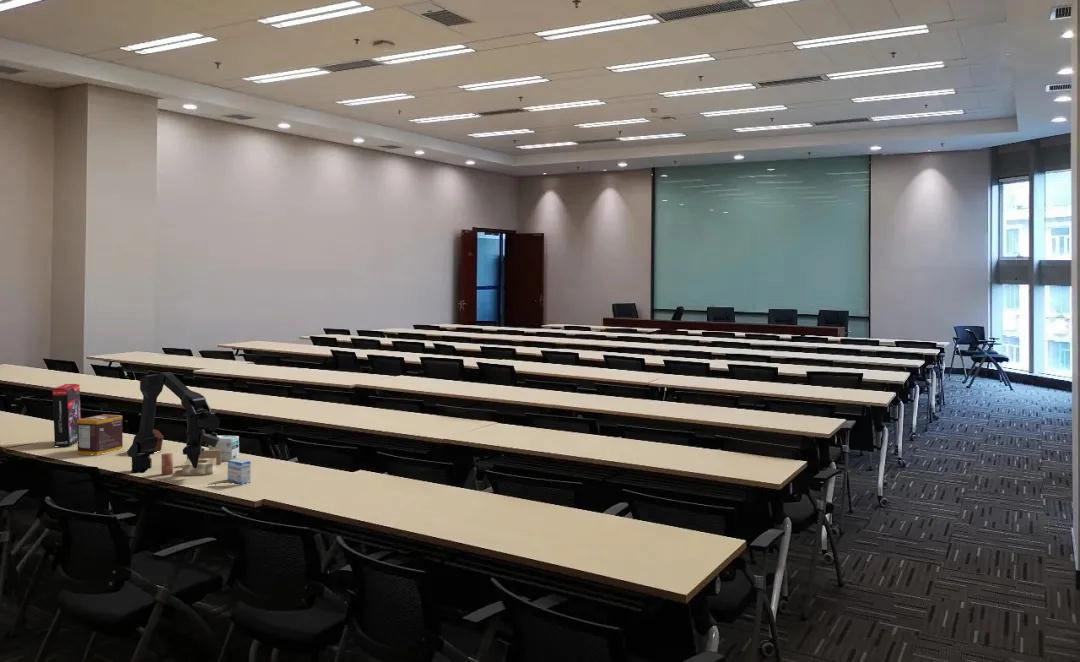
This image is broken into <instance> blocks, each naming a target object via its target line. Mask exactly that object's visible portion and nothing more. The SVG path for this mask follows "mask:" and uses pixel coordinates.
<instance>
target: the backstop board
mask: <svg viewBox="0 0 1080 662" xmlns="http://www.w3.org/2000/svg"><path fill="white" fill-rule="evenodd" d="M204 458H216V466H218V465H219V466H220V465H221V466H222V461H221V449H219V450H209V449H204V451H203V452H202V453H201V454H200V457H199V459H204ZM187 459H189V458H188V456H187V455H186V460H187Z"/></svg>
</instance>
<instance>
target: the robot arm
mask: <svg viewBox="0 0 1080 662" xmlns="http://www.w3.org/2000/svg"><path fill="white" fill-rule="evenodd" d="M164 386H165V387H166V388H168V389H169V391H171V392H172V393H173V394H174V395H175V396H176V397H177V398H179V400H180V403H181V405H182V407H183V408H184V409H185V412H184V413H182V415H183V417H186V426H187V427H186V431H185V433H186V434H185V435H186V443H185V446H184V448H182V455H186V457H187V456H188V458H189V460H190V462H191V464H192V466H193V468H197V466H198V461H199V457H200V454H201V453H202V452H203V451H204V450H206V449H205V448H203V447H202V446H204V447H207V446H209V445H210V446H212V447H216V446H217V443H218V441H219V437H217V435H218V433H217V432H215V431H217V430H218V429H219V427H220V424H221V420H220V418H219V416H217V415H216V412H213V411H212V409H211V407H210V405H209V403H208V401H207V399H206V397H205V396H204V395H203V394H201V393H199V392H197V391H194V390H191V389H190V388H189V387H188V386H187V385H185V384H184V383H183V382H182V381H181V380H180V379H178V378H177V377H176V376H175V374H174V373H173V372H170V371H168V372H167V371H166V372H160V373H158V374H157V373H156V374H149V375H143V376H142V377H140V380H139V391H140V392H141V394H142V396H143V398H142V403H141V404H142V405H141V411H140V412H141V413H140V421H139V422H140V423H139V430H138V432H136V434H135V435H134V436H133V441H132V444H131V445H130V446H129V448H128V449H127V451H126V454H127V457H129V458H131V470H130V473H136V472H135V471H146V472H147V471H148V469H152V467H153V466H152V465H153V460H152V459H153V458H152V457H151V455H154V454H155V453H154V451H155V448H156V446H157V439H158V437H157V436H155V435H154V433H153V429H154V425H155V416H156V409H157V401H158V397H159V396H160V394H161V393H162V391H163V388H164ZM205 430H206V431H213V432H211V434H210V433H206V431H205Z"/></svg>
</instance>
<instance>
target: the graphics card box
mask: <svg viewBox="0 0 1080 662" xmlns="http://www.w3.org/2000/svg"><path fill="white" fill-rule="evenodd" d="M80 393H81V390H80V384H79V383H64V384H62V385H59V386H56V387H54V388H52V408H53V409H52V410H53V412H52V413H53V433H54V435H53V436H54V447H55V446H69V447H71V446H73V445H74V444H76V443H78V442H77V441H78V434H77V420H78V419H82V417H81V416H82V415H81V413H82V412H81V394H80ZM75 442H76V443H75ZM72 444H73V445H72Z"/></svg>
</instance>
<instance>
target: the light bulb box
mask: <svg viewBox="0 0 1080 662" xmlns="http://www.w3.org/2000/svg"><path fill="white" fill-rule="evenodd" d="M217 437H219V441H218V443H217V446H216V447H212V446H210V445H208V450H219V449H221V462H226V461H227V462H228V461H229V460H233V459H239V460H240V436H239V435H218V434H217Z"/></svg>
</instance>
